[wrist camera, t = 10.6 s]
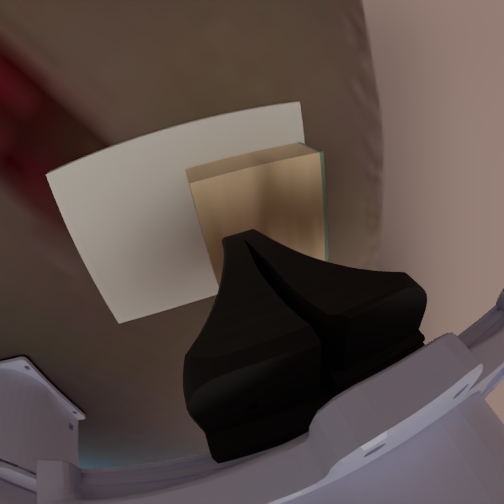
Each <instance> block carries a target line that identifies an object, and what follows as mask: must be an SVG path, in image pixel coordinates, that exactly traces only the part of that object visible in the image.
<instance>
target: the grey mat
mask: <svg viewBox="0 0 504 504" xmlns="http://www.w3.org/2000/svg"><path fill="white" fill-rule="evenodd" d="M298 142H302V143H304V144H305V141H304V132H303V123H302V115H301V107H300V102H297V101H293V102H285V103H278V104H272V105H265V106H259V107H254V108H248V109H243V110H238V111H233V112H228V113H223V114H219V115H214V116H210V117H206V118H201V119H197V120H193V121H189V122H186V123H182V124H178V125H175V126H171V127H167V128H164V129H161V130H157V131H154V132H151V133H148V134H144V135H141V136H138V137H135V138H132V139H129V140H126V141H123V142H121V143H118V144H115V145H112V146H109V147H107V148H104V149H101V150H99V151H96V152H94V153H91V154H89V155H86V156H84V157H81V158H79V159H77V160H74V161H72V162H70V163H67V164H65V165H63V166H61V167H58V168H56V169H54V170H52V171H50V172H49V173H47V174H46V176H47V179H48V182H49V184H50V187H51V190H52V192H53V195H54V197H55V200H56V202H57V205H58V207H59V210H60V212H61V214H62V217H63V219H64V221H65V224H66V226H67V228H68V230H69V232H70V235H71V237H72V239H73V241H74V243H75V245H76V247H77V249H78V251H79V253H80V255H81V257H82V259H83V261H84V263H85V265H86V267H87V269H88V271H89V273H90V275H91V277H92V279H93V280H94V282H95V284H96V286H97V288H98V289H99V291H100V293H101V295H102V296H103V298H104V300H105V302H106V303H107V305H108V307H109V308H110V310H111V312H112V313H113V315H114V317H115V318H116V320H117V321H118V323H119V324H120V323H123V322H127V321H130V320H134V319H137V318H141V317H144V316H147V315H151V314H154V313H158V312H161V311H165V310H168V309H171V308H175V307H178V306H181V305H185V304H188V303H191V302H194V301H198V300H201V299H204V298H208V297H211V296H214V295H217V293H218V290H219V287H218V284H217V281H216V278H215V275H214V272H213V269H212V265H211V262H210V259H209V255H208V252H207V248H206V245H205V241H204V238H203V234H202V231H201V227H200V224H199V220H198V217H197V213H196V209H195V206H194V202H193V198H192V195H191V191H190V187H189V183H188V180H187V176H186V172H185V169H187V168H191V167H195V166H198V165H202V164H205V163H209V162H213V161H217V160H221V159H225V158H229V157H233V156H237V155H241V154H245V153H250V152H254V151H258V150H263V149H268V148H272V147H277V146H282V145H287V144H292V143H298Z"/></svg>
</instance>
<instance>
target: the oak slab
mask: <svg viewBox="0 0 504 504" xmlns="http://www.w3.org/2000/svg"><path fill="white" fill-rule="evenodd" d="M185 172H186V176H187V180H188V183H189V187H190V191H191V195H192V198H193V202H194V206H195V209H196V213H197V217H198V220H199V224H200V227H201V231H202V234H203V238H204V241H205V245H206V248H207V252H208V255H209V259H210V262H211V265H212V269H213V272H214V275H215V278H216V281H217V284H218V287H219V286H220V282H221V276H222V270H223V260H224V249H223V245H222V239H223V238H224V237H227V236H230V235H234V234H237V233H240V232H244V231H247V230H251V229H255V230H257V231H259V232H260V233H262V234H264V235H266V236H267V237H269V238H271V239H273V240H275V241H277V242H279V243H281V244H283V245H285V246H287V247H289V248H291V249H293V250H295V251H298V252H300V253H303V254H305V255H308V256H310V257H313V258H316V259H319V260H323V261H327V260H328V222H327V199H326V181H325V166H324V153H323V151H321V150H318V149H316V148H314V147H311V146H309V145H306V144H304V143H302V142H298V143H292V144H287V145H282V146H277V147H272V148H268V149H263V150H258V151H254V152H250V153H245V154H241V155H237V156H233V157H229V158H225V159H221V160H217V161H213V162H209V163H205V164H202V165H198V166H195V167H191V168H187V169H185Z"/></svg>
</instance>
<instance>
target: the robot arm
mask: <svg viewBox="0 0 504 504" xmlns="http://www.w3.org/2000/svg"><path fill="white" fill-rule="evenodd" d="M222 245H223V249H224V260H223V270H222V276H221V282H220V286H219V290H218V293H217V296H216V299H215V302H214V305H213V307H212V310H211V312H210V315H209V317H208V319H207V321H206V323H205V325H204V327H203V328H202V330H201V332H200V334H199V336H198V337H197V339H196V340H195V342H194V343H193V345H192V346H191V348H190V349H189V351H188V352H187V354H186V355H185V360H184V371H183V390H184V397H185V402H186V407H187V410H188V412H189V414H190V416H191V417H192V419H193V420H194V421H195V422H196V423H197V424H198V426H199V427H200V428H201V429H202V430H203V431H204V433H205V434H206V438H207V442H208V446H209V450H210V452H207V453H202V454H198V455H193V456H189V457H184V458H178V459H173V460H167V461H161V462H155V463H148V464H140V465H132V466H122V467H109V468H91V469H80V468H79V467H78V420H82V419H85V414H84V413H83V412H82V411H81V410H79V409H78V408H77V407H76V406H75V405H74V404H73V403H71V402H70V401H69V400H68V399H67V398H66V397H65V396H64V395H63V394H62V393H61V392H59V391H58V390H57V389H56V388H55V387H54V386H53V385H52V384H51V383H50V382H49V381H48V380H47V379H46V378H45V377H44V376H43V375H42V374H41V373H40V372H39V371H38V369H37V368H36V367H35V366H34V365H33V364H32V363H31V362H30V361H29V360H28V359H27V358H26V357H17V358H13V359H8V360H4V361H0V504H504V424H503V423H502V421H501V420H500V419H499V418H498V416H497V415H496V414H495V412H494V411H493V410H492V408H491V407H490V406H489V404H488V403H487V402H486V401H485V398H486V397H487V396H488V395H489V394H490V392H492V390H494V389H495V387H496V386H497V385H498V384H499V383H500V382H501V381H502V380H503V379H504V289H503V290H502V292H501V293H500V295H499V298H498V300H497V302H496V305H495V306H494V307H493V308H492V309H491V310H489V311H488V312H487V313H486V314H485V315H484V316H482V317H481V318H480V319H479V320H478V321H476V322H475V323H474V324H472V325H471V326H470V327H469V328H467V329H466V330H465V331H463V332H462V333H461V334H460V335H458V336H456V335H455V334H453V333H446V334H444V335H442V336H440V337H438V338H436V339H434V340H433V341H431V342H429V343H428V344H426V345H425V344H424V343H423V341H424V340H425V337H424V335H423V334H422V333H421V332H420V331H419V327H420V324H421V321H422V318H423V315H424V312H425V309H426V304H427V295H426V293H425V291H424V289H423V288H422V287H421V286H420V285H418V283H416V282H415V281H414V280H413V279H412V278H411V277H410V276H409V275H408V274H406V273H405V272H382V271H372V270H364V269H357V268H351V267H346V266H342V265H337V264H333V263H329V262H326V261H323V260H319V259H316V258H313V257H310V256H308V255H305V254H303V253H300V252H298V251H295V250H293V249H291V248H289V247H287V246H285V245H283V244H281V243H279V242H277V241H275V240H273V239H271V238H269V237H267V236H266V235H264V234H262V233H260V232H259V231H257V230H255V229H251V230H247V231H244V232H240V233H237V234H234V235H230V236H227V237H224V238H223V239H222Z"/></svg>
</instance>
